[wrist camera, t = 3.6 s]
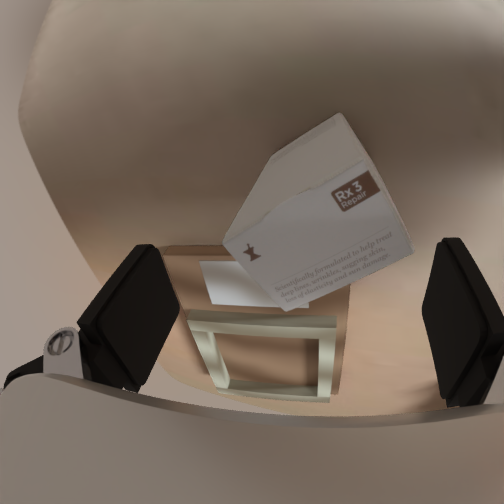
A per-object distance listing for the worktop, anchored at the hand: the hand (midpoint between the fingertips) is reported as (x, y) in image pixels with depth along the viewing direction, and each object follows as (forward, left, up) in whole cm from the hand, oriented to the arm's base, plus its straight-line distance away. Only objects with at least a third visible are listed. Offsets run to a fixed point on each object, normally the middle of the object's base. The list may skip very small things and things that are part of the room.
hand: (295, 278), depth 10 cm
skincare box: (0, +1, -13) cm, 13 cm away
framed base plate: (+18, -5, -13) cm, 23 cm away
